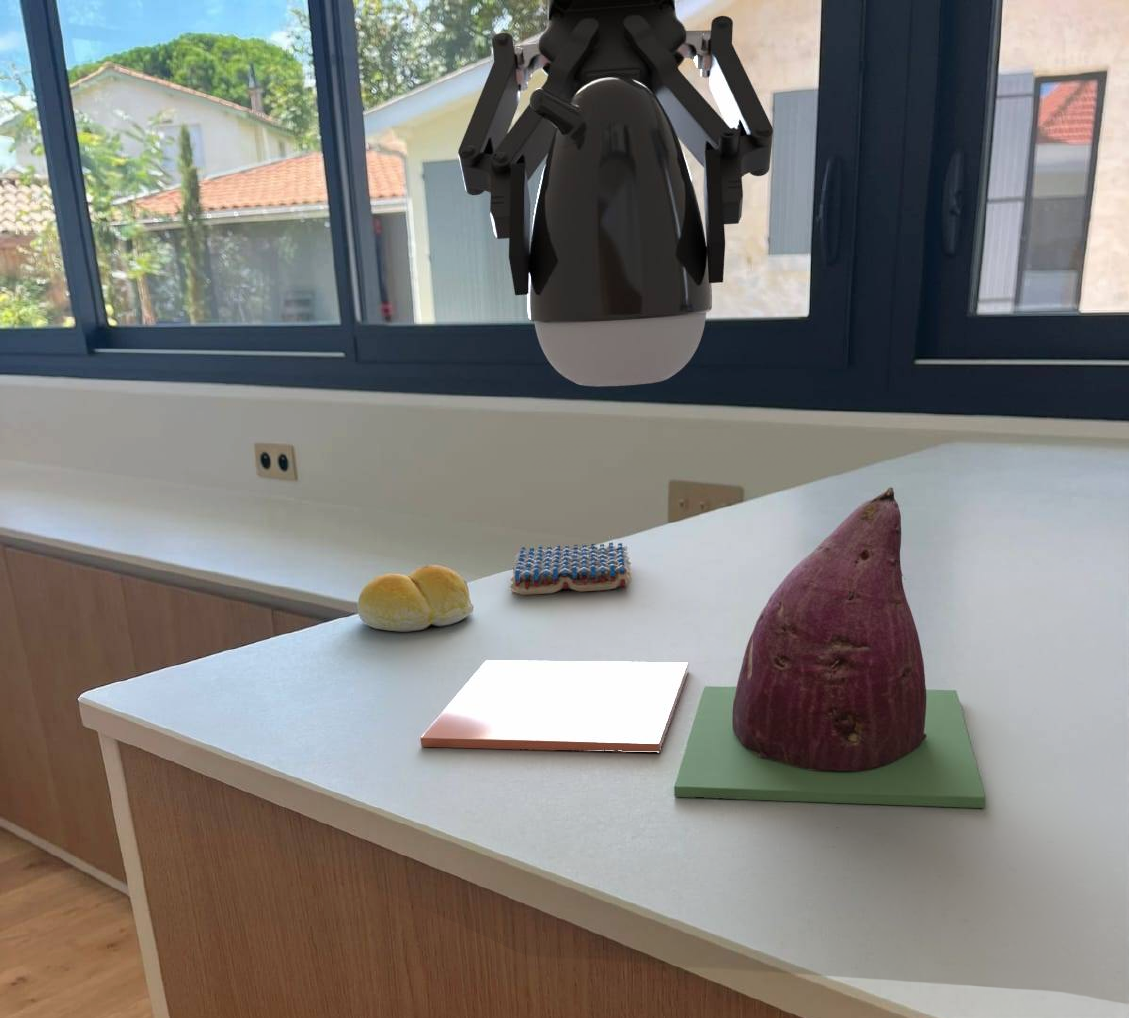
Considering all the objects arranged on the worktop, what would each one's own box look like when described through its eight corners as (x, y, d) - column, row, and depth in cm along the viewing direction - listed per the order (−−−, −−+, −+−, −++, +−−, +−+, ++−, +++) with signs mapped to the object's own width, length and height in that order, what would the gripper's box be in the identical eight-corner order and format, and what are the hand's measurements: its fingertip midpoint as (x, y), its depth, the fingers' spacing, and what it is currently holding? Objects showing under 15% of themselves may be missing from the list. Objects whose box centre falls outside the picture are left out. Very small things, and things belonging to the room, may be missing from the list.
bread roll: (352, 614, 94) (346, 566, 93) (458, 599, 97) (454, 552, 95) (369, 641, 87) (362, 589, 85) (483, 623, 89) (479, 573, 88)
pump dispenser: (494, 388, 66) (470, 85, 60) (627, 369, 72) (617, 92, 66) (612, 396, 59) (599, 52, 53) (750, 374, 65) (752, 63, 59)
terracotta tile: (688, 671, 76) (688, 662, 76) (659, 753, 64) (659, 744, 64) (486, 668, 79) (485, 660, 79) (420, 747, 67) (419, 737, 67)
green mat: (955, 699, 69) (956, 689, 68) (984, 808, 55) (985, 797, 55) (704, 694, 72) (704, 685, 72) (674, 797, 59) (673, 786, 58)
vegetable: (920, 764, 67) (1015, 510, 61) (889, 817, 58) (997, 525, 52) (751, 703, 70) (827, 457, 65) (697, 744, 61) (780, 463, 56)
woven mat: (629, 561, 105) (628, 539, 105) (633, 591, 96) (632, 567, 95) (516, 567, 106) (514, 545, 105) (508, 598, 96) (506, 574, 95)
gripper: (793, 25, 71) (824, 308, 63) (437, 53, 73) (421, 333, 65) (807, -103, 64) (843, 196, 56) (413, -69, 66) (391, 227, 58)
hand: (617, 269), depth 60 cm, fingers closed on pump dispenser, 10 cm apart
